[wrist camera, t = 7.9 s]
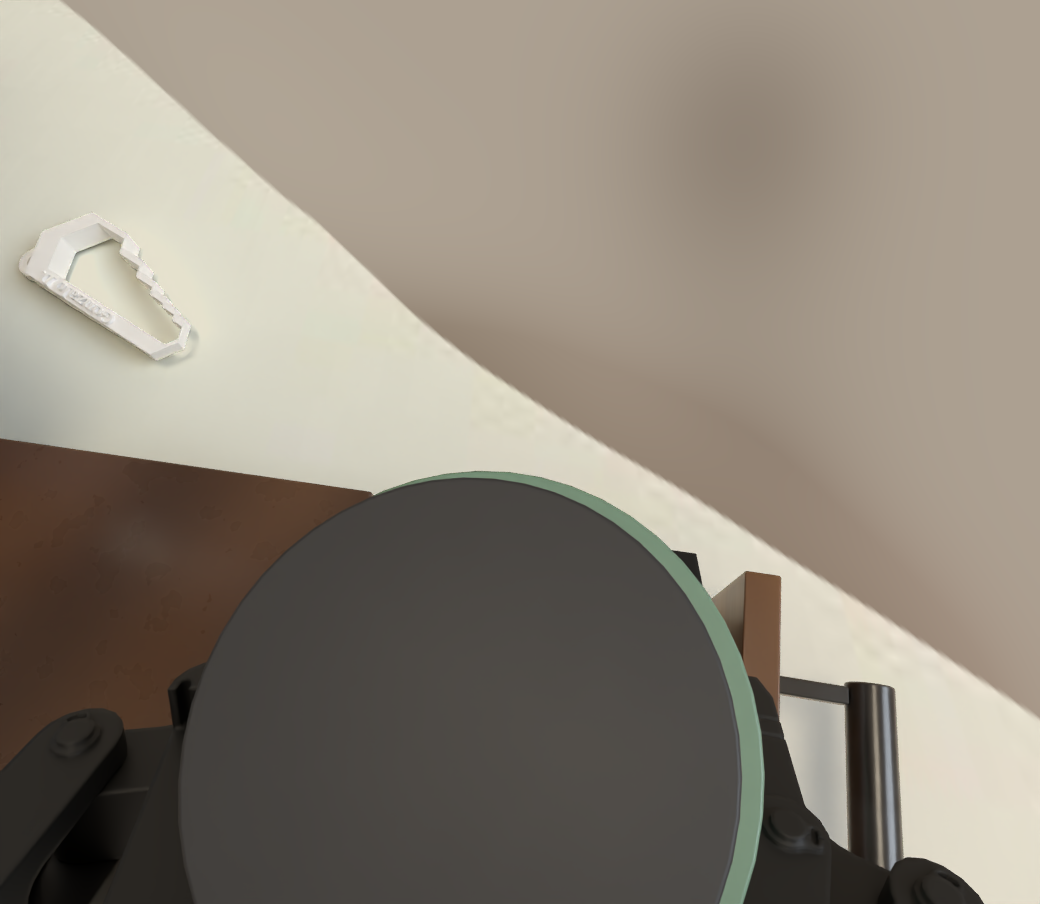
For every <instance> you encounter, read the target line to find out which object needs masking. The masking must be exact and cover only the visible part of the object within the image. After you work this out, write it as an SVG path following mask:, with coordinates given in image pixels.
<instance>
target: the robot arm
mask: <svg viewBox="0 0 1040 904" xmlns="http://www.w3.org/2000/svg"><path fill="white" fill-rule="evenodd" d="M672 551H673V550H672ZM673 552H674V553H675V554H676V555H677V556H678V557H679V558H680V559H681V560H682V561H683V562H684V564H685V565H686V566H687V567H688V569H689V570H690V571H691V572H692V573H693V575H694V576H695V577H696V578H697V580H698V581H699V582H700V583H701V585H702V581H701V576H700V571H699V566H698V561H697V556H696V554H694V553H687V552H680V551H673ZM206 663H207V662H205V663H202V664H200V665H197V666H195V667H192V668H190V669H188V670H186V671H185V672H184V673H182V674H181V675H179V676H178V677H177V678H175V680H174V681H173V682H172V684H171V685H170V687H169V688H168V689H167V691H168V697H169V704H170V710H171V716H172V723H173V725H167V726H161V727H150V728H139V729H127V730H124V726H123V721H122V719H121V718H120V717H119V716H118V715H117V713H116V712H113V711H110V710H107V709H104V708H89V709H83V710H79V711H75V712H72V713H68V714H66V715H64V716H62V717H60V718H58V719H56V720H54V721H52V722H50V723H49V724H48V725H47V726H45V727H44V728H43V729H42V730H40V731H39V732H38V733H37V734H36V735H35V736H34V737H33V738H32V739H31V740H30V741H29V742H28V743H27V744H26V745H25V746H24V747H23V748H22V749H21V750H20V751H19V752H18V754H17V755H16V756H15V757H14V758H13V759H12V760H11V761H10V762H9V763H8V764H7V765H6V766H5V767H4V768H3V769H2V770H1V771H0V904H194V903H193V899H192V895H191V891H190V888H189V884H188V880H187V876H186V872H185V868H184V864H183V856H182V848H181V840H180V833H179V825H178V779H179V770H180V761H181V752H182V743H183V738H184V734H185V730H186V725H187V721H188V716H189V712H190V708H191V704H192V701H193V698H194V695H195V692H196V689H197V686H198V684H199V681H200V678H201V675H202V672H203V669H204V667H205V665H206ZM748 678H749V681H750V685H751V688H752V691H753V694H754V699H755V704H756V709H757V714H758V719H759V724H760V729H761V735H762V747H763V760H764V772H765V780H764V804H763V820H762V826H761V832H760V839H759V845H758V851H757V857H756V862H755V865H754V869H753V872H752V875H751V879H750V882H749V885H748V889H747V892H746V895H745V899H744V902H743V904H984V903H983V901H982V900H981V898H980V897H979V895H978V894H977V893H976V892H975V891H974V890H973V889H972V888H971V887H970V886H969V885H968V884H967V883H966V882H965V881H964V880H963V879H962V878H960V877H959V876H957V875H956V874H954V873H953V872H951V871H950V870H948V869H947V868H945V867H944V866H942V865H939V864H937V863H934V862H931V861H929V860H926V859H923V858H910V857H907V858H904V859H902V860H900V861H897V862H895V863H894V865H893V867H892V869H891V871H889V870H887V869H885V868H883V867H881V866H878V865H876V864H874V863H872V862H870V861H868V860H866V859H863V858H861V857H859V856H857V855H855V854H853V853H851V852H849V851H847V850H846V849H844V848H842V847H840V846H839V845H838V844H836V843H835V842H834V841H832V840H831V839H830V838H829V835H828V833H827V831H826V830H825V828H824V826H823V825H822V823H821V822H820V820H819V819H818V818H817V817H816V816H815V815H814V814H813V813H811V812H810V811H809V810H808V809H807V808H806V807H805V804H804V801H803V798H802V795H801V791H800V788H799V784H798V781H797V778H796V774H795V771H794V767H793V764H792V761H791V757H790V754H789V750H788V747H787V744H786V740H784V733H783V730H782V727H781V723H780V722H779V716H778V713H777V710H776V706H775V703H774V699H773V697H772V696H771V694H770V693H769V692H768V691H767V689H766V688H765V687H764V685H763V684H762V683H761V682H760V680H759V679H758V678H757V677H752V676H748Z"/></svg>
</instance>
